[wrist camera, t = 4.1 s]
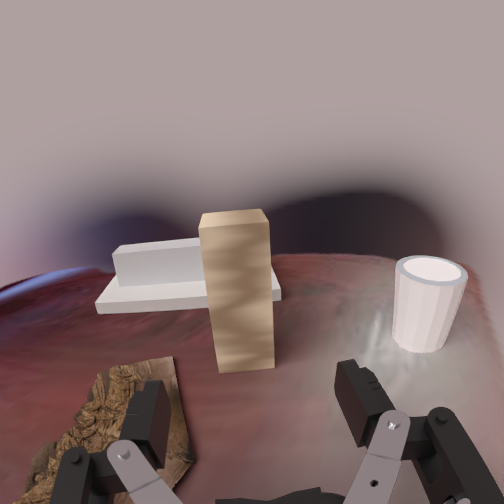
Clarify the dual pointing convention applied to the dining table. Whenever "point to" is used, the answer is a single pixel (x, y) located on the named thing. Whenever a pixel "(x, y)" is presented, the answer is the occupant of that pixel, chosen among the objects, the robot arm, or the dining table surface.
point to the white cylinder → (426, 301)
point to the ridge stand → (159, 278)
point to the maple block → (239, 288)
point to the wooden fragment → (113, 428)
